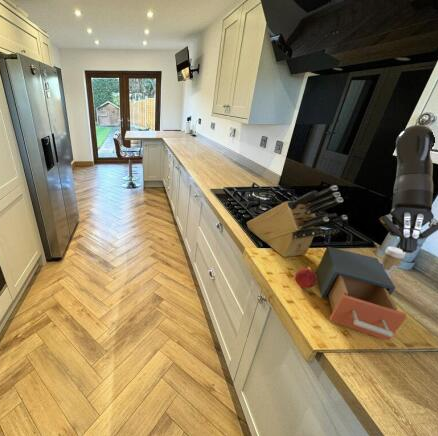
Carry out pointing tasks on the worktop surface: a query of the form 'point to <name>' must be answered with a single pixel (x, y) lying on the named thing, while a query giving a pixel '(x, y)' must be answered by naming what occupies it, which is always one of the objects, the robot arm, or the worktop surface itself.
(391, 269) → the sprinkles bottle
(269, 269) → the worktop surface
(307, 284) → the onion
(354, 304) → the drawer
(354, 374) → the worktop surface
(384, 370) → the worktop surface
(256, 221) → the knife block
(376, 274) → the cabinet
